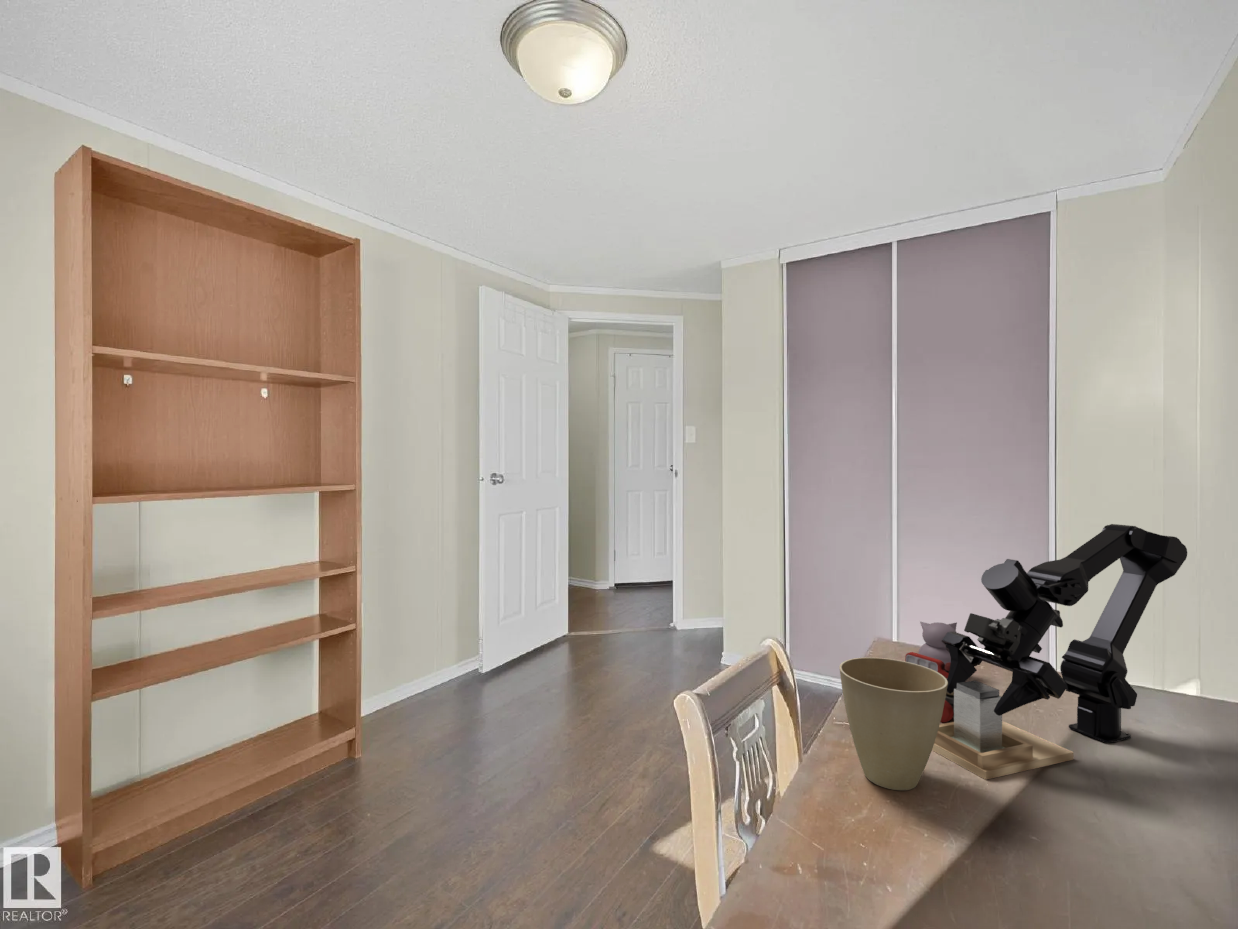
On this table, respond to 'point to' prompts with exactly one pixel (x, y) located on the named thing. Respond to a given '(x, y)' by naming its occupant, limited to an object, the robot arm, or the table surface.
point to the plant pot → (892, 717)
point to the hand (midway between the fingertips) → (970, 702)
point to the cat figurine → (936, 640)
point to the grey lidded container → (977, 716)
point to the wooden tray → (1001, 752)
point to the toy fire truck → (940, 668)
